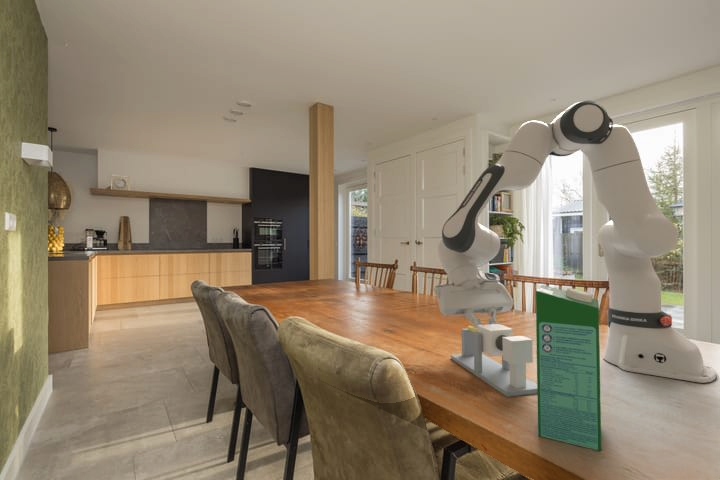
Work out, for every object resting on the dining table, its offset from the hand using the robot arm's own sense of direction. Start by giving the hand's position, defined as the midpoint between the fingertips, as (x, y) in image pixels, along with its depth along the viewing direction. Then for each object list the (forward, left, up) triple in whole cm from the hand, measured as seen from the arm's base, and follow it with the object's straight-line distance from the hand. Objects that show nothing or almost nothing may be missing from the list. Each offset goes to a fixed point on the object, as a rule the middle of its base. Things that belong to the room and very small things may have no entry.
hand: (486, 326), depth 93 cm
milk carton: (-25, +17, -12) cm, 32 cm away
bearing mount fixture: (-2, +1, -11) cm, 12 cm away
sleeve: (-3, +2, -5) cm, 7 cm away
